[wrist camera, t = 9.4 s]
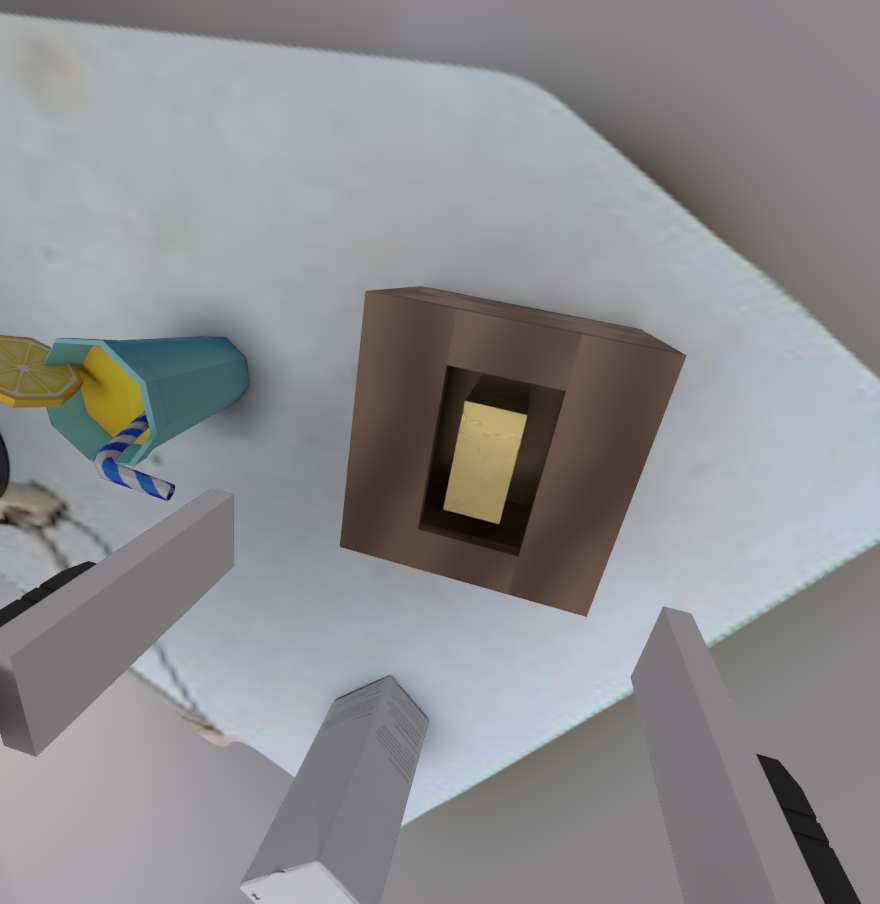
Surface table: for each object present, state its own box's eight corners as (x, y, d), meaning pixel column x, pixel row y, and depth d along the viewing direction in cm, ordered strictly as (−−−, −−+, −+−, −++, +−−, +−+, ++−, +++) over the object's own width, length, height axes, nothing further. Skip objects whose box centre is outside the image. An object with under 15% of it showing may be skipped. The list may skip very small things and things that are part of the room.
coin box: (393, 476, 35) (339, 546, 26) (421, 286, 30) (365, 291, 21) (575, 523, 33) (586, 616, 24) (640, 329, 28) (686, 355, 19)
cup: (324, 368, 33) (168, 432, 20) (297, 455, 36) (146, 563, 23) (156, 287, 34) (-108, 294, 20) (144, 380, 37) (-92, 442, 23)
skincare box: (369, 742, 47) (292, 945, 33) (329, 697, 46) (231, 887, 32) (433, 719, 44) (378, 933, 29) (391, 670, 43) (313, 867, 28)
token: (469, 450, 32) (443, 509, 24) (487, 366, 30) (465, 400, 22) (511, 460, 32) (499, 524, 24) (533, 376, 29) (527, 415, 21)
